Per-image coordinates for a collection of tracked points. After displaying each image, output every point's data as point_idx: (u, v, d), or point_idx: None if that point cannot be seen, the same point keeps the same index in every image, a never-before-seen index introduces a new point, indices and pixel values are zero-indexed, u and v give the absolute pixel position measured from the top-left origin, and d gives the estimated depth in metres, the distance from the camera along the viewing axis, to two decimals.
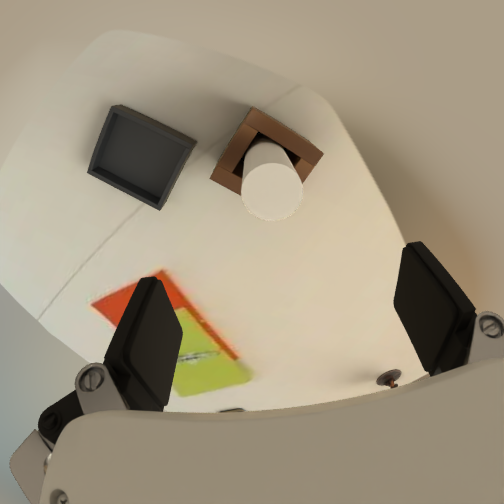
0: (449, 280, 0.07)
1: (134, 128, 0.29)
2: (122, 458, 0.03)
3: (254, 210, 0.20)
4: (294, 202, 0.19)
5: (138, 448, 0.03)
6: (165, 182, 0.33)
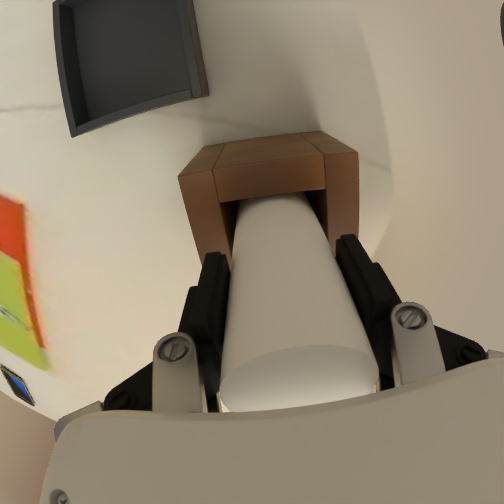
0: (370, 270, 0.08)
1: (161, 0, 0.11)
2: (122, 458, 0.03)
3: (232, 393, 0.07)
4: None
5: (138, 448, 0.03)
6: (115, 105, 0.15)
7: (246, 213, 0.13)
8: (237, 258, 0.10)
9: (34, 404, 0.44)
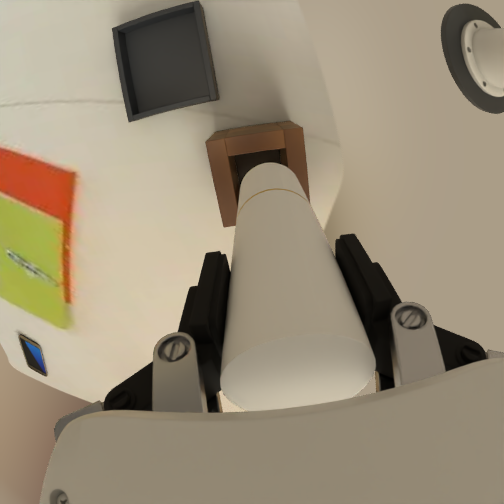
0: (370, 270, 0.08)
1: (188, 36, 0.21)
2: (122, 458, 0.03)
3: (232, 383, 0.07)
4: None
5: (138, 448, 0.03)
6: (157, 103, 0.25)
7: (247, 210, 0.13)
8: (238, 253, 0.11)
9: None
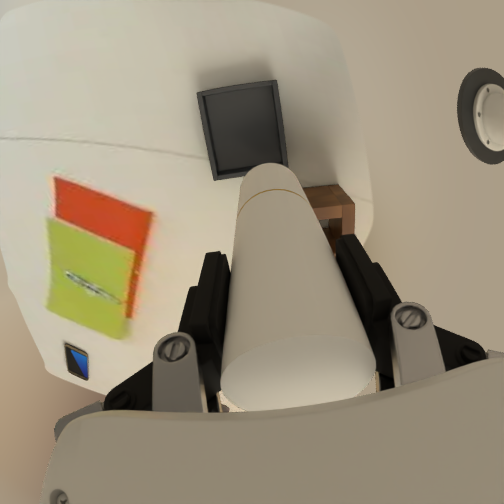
0: (370, 270, 0.08)
1: (263, 108, 0.31)
2: (122, 458, 0.03)
3: (233, 384, 0.07)
4: None
5: (138, 448, 0.03)
6: (235, 164, 0.35)
7: (247, 210, 0.13)
8: (238, 253, 0.10)
9: (88, 378, 0.63)
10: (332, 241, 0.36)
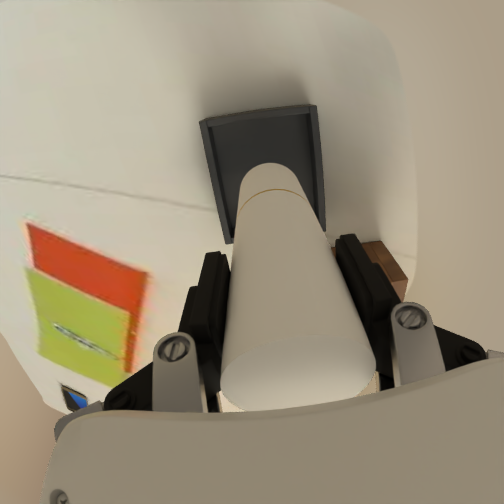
0: (370, 270, 0.08)
1: (294, 144, 0.23)
2: (122, 458, 0.03)
3: (232, 384, 0.07)
4: None
5: (138, 448, 0.03)
6: None
7: (247, 210, 0.13)
8: (238, 253, 0.10)
9: None
10: None
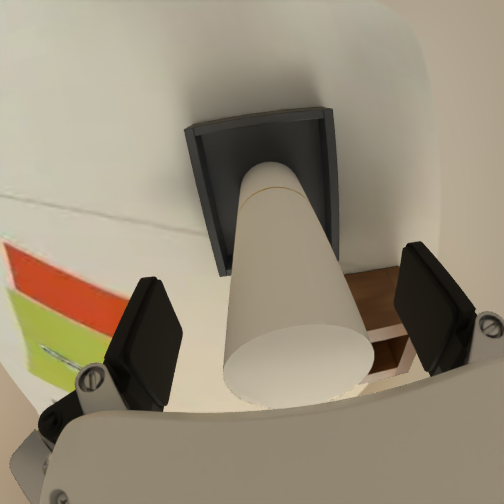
0: (449, 280, 0.07)
1: (303, 156, 0.19)
2: (122, 458, 0.03)
3: (235, 375, 0.07)
4: (307, 401, 0.08)
5: (138, 448, 0.03)
6: None
7: (248, 208, 0.13)
8: (239, 249, 0.11)
9: None
10: (384, 345, 0.24)
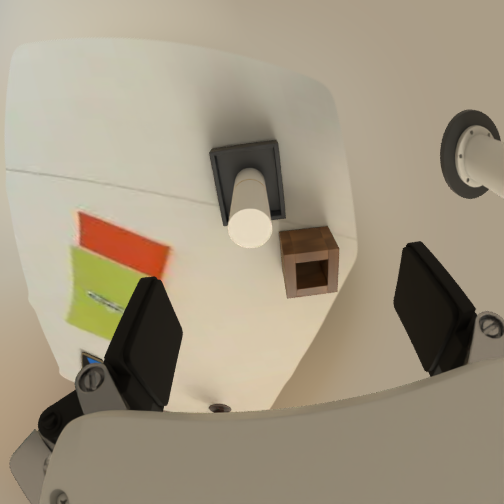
0: (449, 280, 0.07)
1: (266, 165, 0.39)
2: (122, 458, 0.03)
3: (231, 227, 0.27)
4: (254, 243, 0.28)
5: (138, 448, 0.03)
6: None
7: (237, 187, 0.33)
8: (233, 199, 0.31)
9: None
10: (320, 274, 0.44)
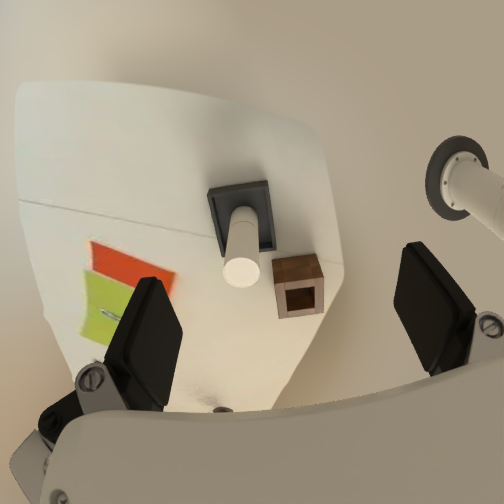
0: (449, 280, 0.07)
1: (258, 203, 0.44)
2: (122, 458, 0.03)
3: (225, 272, 0.33)
4: (245, 284, 0.34)
5: (138, 448, 0.03)
6: None
7: (231, 229, 0.39)
8: (228, 243, 0.36)
9: None
10: (309, 297, 0.50)
